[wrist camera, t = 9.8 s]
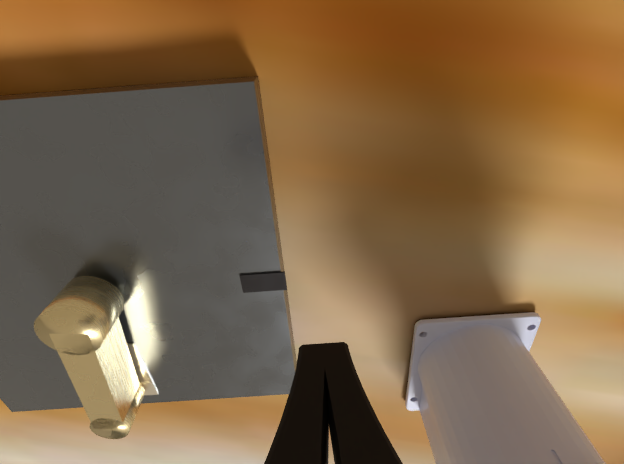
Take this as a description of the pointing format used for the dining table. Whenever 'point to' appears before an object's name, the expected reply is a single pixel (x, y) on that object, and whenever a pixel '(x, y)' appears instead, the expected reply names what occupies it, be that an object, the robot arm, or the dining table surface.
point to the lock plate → (145, 237)
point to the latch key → (94, 352)
